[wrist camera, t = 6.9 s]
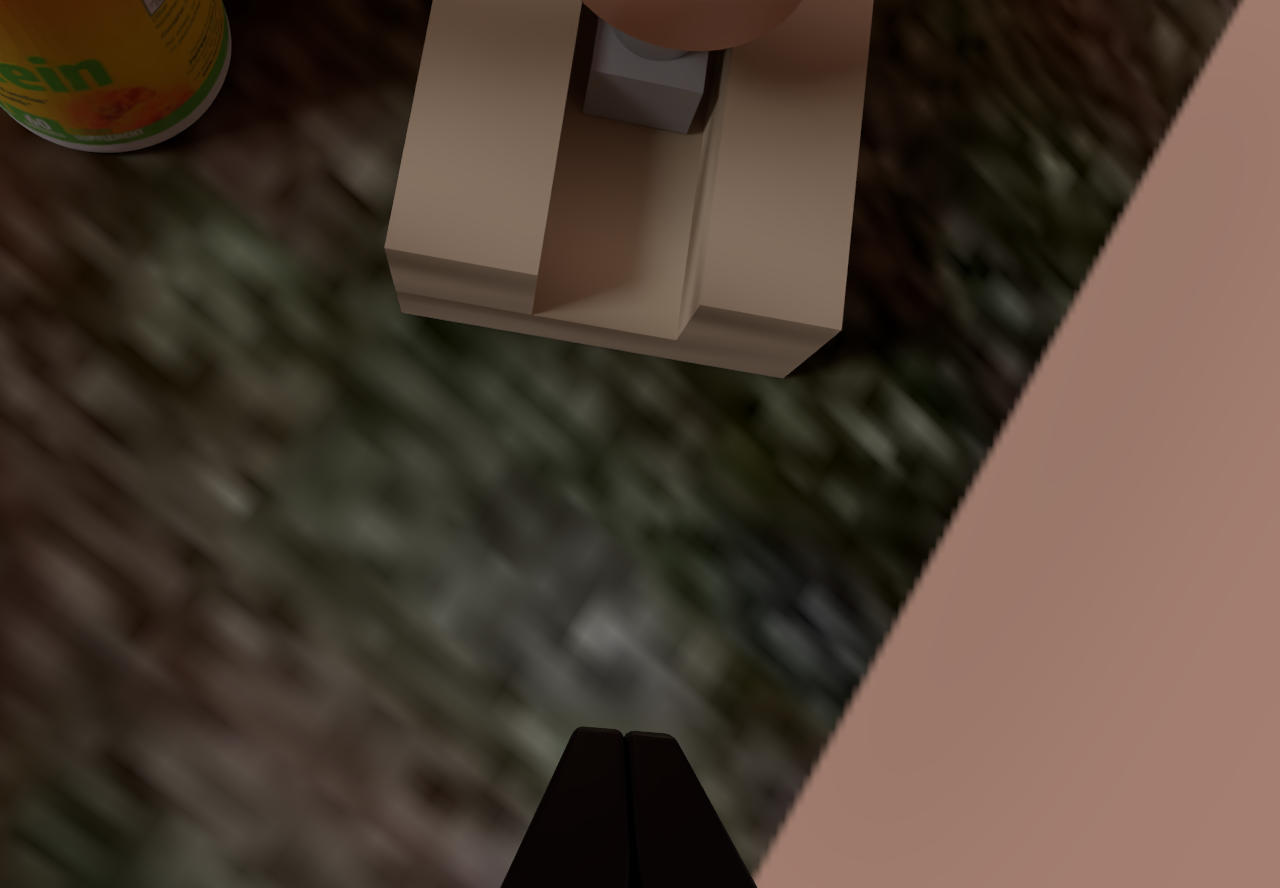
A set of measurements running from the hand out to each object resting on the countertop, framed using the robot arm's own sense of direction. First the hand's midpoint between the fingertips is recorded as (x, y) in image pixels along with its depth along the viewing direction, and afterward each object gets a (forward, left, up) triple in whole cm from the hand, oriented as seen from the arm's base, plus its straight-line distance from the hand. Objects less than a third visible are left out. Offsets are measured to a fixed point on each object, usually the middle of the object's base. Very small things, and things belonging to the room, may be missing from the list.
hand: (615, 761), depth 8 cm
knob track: (+12, -3, -14) cm, 18 cm away
